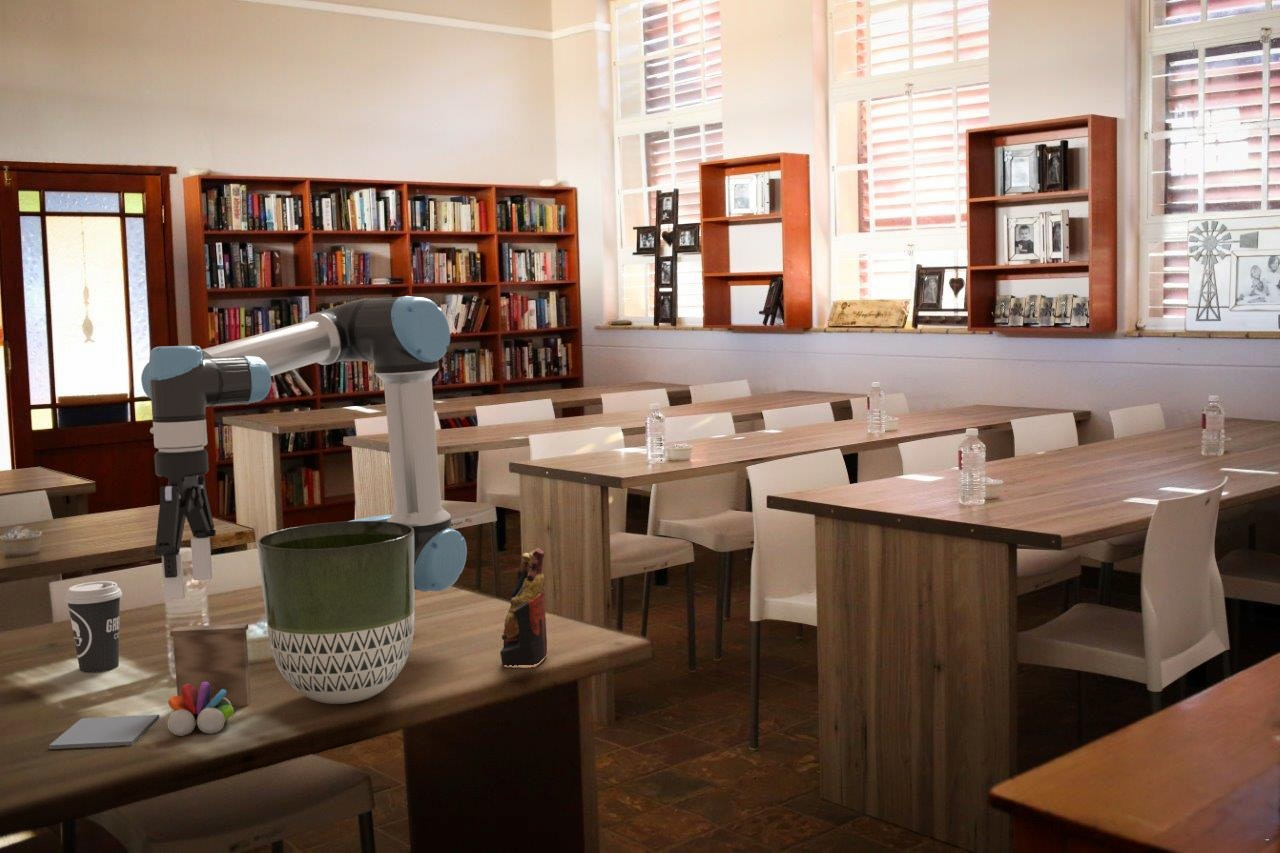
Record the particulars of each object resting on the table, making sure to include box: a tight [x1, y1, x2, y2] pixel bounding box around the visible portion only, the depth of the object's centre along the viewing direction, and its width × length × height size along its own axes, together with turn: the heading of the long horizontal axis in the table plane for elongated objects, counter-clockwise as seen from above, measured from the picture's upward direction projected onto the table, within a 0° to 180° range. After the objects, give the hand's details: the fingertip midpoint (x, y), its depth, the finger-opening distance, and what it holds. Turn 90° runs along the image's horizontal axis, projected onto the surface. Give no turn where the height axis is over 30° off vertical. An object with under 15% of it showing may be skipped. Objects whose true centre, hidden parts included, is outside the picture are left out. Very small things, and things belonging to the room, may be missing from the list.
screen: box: [169, 623, 252, 707], centre depth 202 cm, size 12×3×13 cm, turn 93°
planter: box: [256, 520, 416, 705], centre depth 203 cm, size 24×24×27 cm
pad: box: [48, 714, 160, 750], centre depth 191 cm, size 12×12×1 cm
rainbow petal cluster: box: [167, 682, 235, 737], centre depth 192 cm, size 8×10×7 cm
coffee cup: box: [64, 580, 123, 674], centre depth 226 cm, size 10×10×15 cm
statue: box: [499, 547, 548, 666], centre depth 220 cm, size 12×8×20 cm, turn 168°
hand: (189, 588), depth 190 cm, fingers open, 13 cm apart
